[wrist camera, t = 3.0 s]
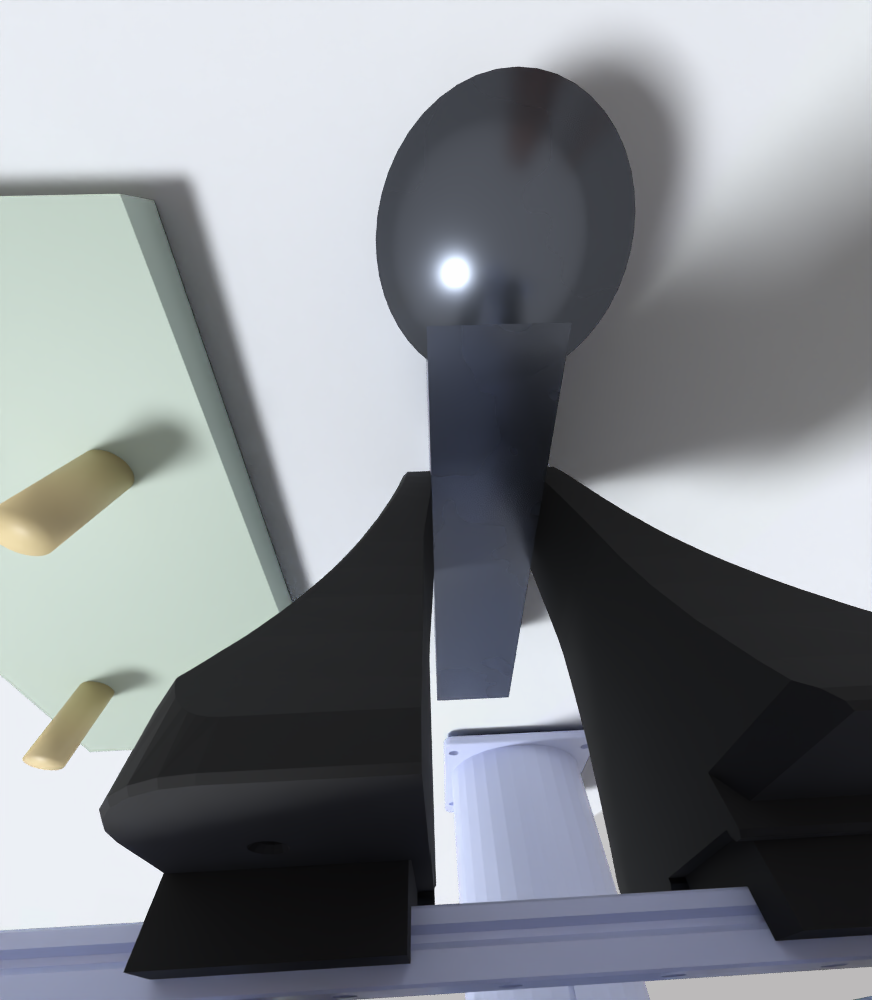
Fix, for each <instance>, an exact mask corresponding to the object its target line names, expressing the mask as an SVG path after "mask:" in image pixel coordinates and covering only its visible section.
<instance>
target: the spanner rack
mask: <svg viewBox="0 0 872 1000" xmlns="http://www.w3.org/2000/svg"><path fill="white" fill-rule="evenodd" d="M291 603H292V601H291V598H290V595H289V592H288V589H287V586H286V583H285V581H284V578H283V575H282V572H281V569H280V566H279V563H278V560H277V557H276V554H275V551H274V549H273V546H272V543H271V540H270V537H269V534H268V531H267V528H266V525H265V522H264V519H263V517H262V514H261V511H260V508H259V505H258V502H257V499H256V496H255V493H254V490H253V487H252V485H251V482H250V479H249V476H248V473H247V470H246V467H245V464H244V461H243V458H242V455H241V453H240V450H239V447H238V444H237V441H236V438H235V435H234V432H233V429H232V426H231V423H230V421H229V418H228V415H227V412H226V409H225V406H224V403H223V400H222V397H221V394H220V391H219V389H218V386H217V383H216V380H215V377H214V374H213V371H212V368H211V365H210V362H209V359H208V357H207V354H206V351H205V348H204V345H203V342H202V339H201V336H200V333H199V330H198V327H197V325H196V322H195V319H194V316H193V313H192V310H191V307H190V304H189V301H188V298H187V295H186V293H185V290H184V287H183V284H182V281H181V278H180V275H179V272H178V269H177V266H176V263H175V261H174V258H173V255H172V252H171V249H170V246H169V243H168V240H167V237H166V234H165V231H164V229H163V226H162V223H161V220H160V217H159V214H158V211H157V208H156V205H155V202H154V200H150V199H145V198H140V197H134V196H129V195H124V194H80V195H31V196H0V675H1V676H2V677H3V678H4V679H5V680H7V681H8V682H9V683H10V684H11V685H12V686H14V687H15V688H16V689H17V690H18V691H19V692H21V693H22V694H23V695H24V696H25V697H26V698H28V699H29V700H30V701H31V702H32V703H33V704H35V705H36V706H37V707H38V708H39V709H40V710H42V711H43V712H44V713H45V714H46V715H47V716H49V717H50V718H51V719H52V721H51V722H50V724H49V725H48V726H47V727H46V729H45V730H44V731H43V733H42V734H41V735H40V736H39V738H38V739H37V740H36V741H35V743H34V744H33V745H32V747H31V748H30V749H29V750H28V752H27V753H26V754H25V756H24V757H23V761H24V762H25V763H26V764H28V765H30V766H32V767H35V768H38V769H44V770H59V769H62V768H64V766H65V765H66V764H67V762H68V761H69V759H70V758H71V756H72V755H73V753H74V752H75V750H76V749H77V748H78V746H79V745H80V744H81V745H82V746H84V747H85V748H86V749H87V750H88V751H89V752H100V751H120V750H133V749H134V747H135V745H136V743H137V742H138V740H139V738H140V736H141V735H142V733H143V731H144V729H145V727H146V726H147V724H148V722H149V720H150V719H151V717H152V715H153V713H154V711H155V710H156V708H157V707H158V705H159V704H160V702H161V701H162V699H163V698H164V696H165V695H166V693H167V692H168V690H169V689H170V687H171V685H172V684H173V682H174V681H175V679H176V678H177V677H179V676H180V675H182V674H184V673H186V672H187V671H189V670H191V669H193V668H194V667H196V666H197V665H199V664H201V663H202V662H204V661H206V660H207V659H209V658H210V657H212V656H214V655H215V654H217V653H219V652H220V651H222V650H223V649H225V648H227V647H228V646H230V645H232V644H233V643H235V642H236V641H238V640H240V639H241V638H243V637H244V636H246V635H247V634H249V633H250V632H252V631H254V630H255V629H257V628H258V627H259V626H261V625H262V624H264V623H265V622H267V621H268V620H269V619H271V618H272V617H274V616H275V615H277V614H278V613H279V612H281V611H282V610H283V609H285V608H286V607H287V606H289V605H290V604H291Z"/></svg>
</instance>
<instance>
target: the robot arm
mask: <svg viewBox="0 0 872 1000" xmlns="http://www.w3.org/2000/svg"><path fill="white" fill-rule="evenodd" d="M530 568H531V571H532V573H533V576H534V578H535V581H536V583H537V586H538V589H539V591H540V594H541V596H542V599H543V601H544V604H545V606H546V609H547V611H548V614H549V616H550V619H551V622H552V624H553V627H554V629H555V632H556V634H557V637H558V640H559V643H560V646H561V648H562V651H563V654H564V658H565V661H566V665H567V669H568V672H569V676H570V679H571V683H572V687H573V690H574V694H575V698H576V702H577V705H578V709H579V713H580V717H581V721H582V725H583V729H584V730H572V731H552V732H532V733H512V734H492V735H472V736H453V737H448V738H447V739H445V740H444V777H445V810H446V811H448V812H454V821H455V838H456V854H457V870H458V886H459V903H460V904H443V905H435V896H434V888H435V886H436V869H435V837H434V804H433V770H432V736H431V701H430V665H429V654H430V631H431V615H432V599H433V583H434V548H433V516H432V485H431V473H430V471H422V472H407V473H406V474H405V475H404V476H403V478H402V480H401V482H400V484H399V486H398V488H397V490H396V491H395V493H394V495H393V496H392V498H391V500H390V501H389V503H388V504H387V506H386V507H385V508H384V510H383V511H382V513H381V514H380V516H379V517H378V519H377V520H376V521H375V522H374V524H373V525H372V526H371V527H370V529H369V530H368V531H367V532H366V534H365V535H364V536H363V537H362V539H361V540H360V541H359V542H358V543H357V544H356V545H355V547H354V548H353V549H352V550H351V551H350V552H349V553H348V554H347V555H346V556H345V557H344V558H343V559H342V560H341V561H340V562H339V563H338V564H337V565H336V566H335V567H334V568H333V569H332V570H331V571H330V572H329V573H328V574H326V575H325V576H324V577H323V578H322V579H321V580H320V581H319V582H317V583H316V584H315V585H314V586H313V587H311V588H310V589H309V590H308V591H307V592H306V593H304V594H303V595H302V596H301V597H299V598H298V599H297V600H295V601H294V602H293V603H291V604H290V605H289V606H287V607H286V608H285V609H283V610H282V611H281V612H279V613H278V614H277V615H275V616H274V617H272V618H271V619H269V620H268V621H267V622H265V623H264V624H262V625H261V626H259V627H258V628H257V629H255V630H254V631H252V632H250V633H249V634H247V635H246V636H244V637H243V638H241V639H240V640H238V641H236V642H235V643H233V644H232V645H230V646H228V647H227V648H225V649H223V650H222V651H220V652H219V653H217V654H215V655H214V656H212V657H210V658H209V659H207V660H206V661H204V662H202V663H201V664H199V665H197V666H196V667H194V668H193V669H191V670H189V671H187V672H186V673H184V674H182V675H180V676H179V677H177V678H176V679H175V681H174V682H173V684H172V685H171V687H170V689H169V690H168V692H167V693H166V695H165V696H164V698H163V699H162V701H161V702H160V704H159V705H158V707H157V708H156V710H155V711H154V713H153V715H152V717H151V719H150V720H149V722H148V724H147V726H146V727H145V729H144V731H143V733H142V735H141V736H140V738H139V740H138V742H137V743H136V745H135V747H134V749H133V750H132V752H131V754H130V756H129V758H128V759H127V761H126V763H125V765H124V766H123V768H122V770H121V772H120V773H119V775H118V777H117V779H116V781H115V782H114V784H113V786H112V788H111V789H110V791H109V793H108V795H107V796H106V798H105V800H104V802H103V803H102V805H101V807H100V809H99V811H100V815H101V819H102V823H103V826H104V829H105V832H106V833H108V834H109V835H110V836H111V837H112V838H113V839H114V840H115V841H116V842H118V843H119V844H121V845H122V846H124V847H125V848H127V849H128V850H130V851H131V852H133V853H134V854H136V855H137V856H139V857H140V858H142V859H143V860H145V861H147V862H148V863H150V864H151V865H153V866H154V867H156V868H157V869H159V870H160V871H162V872H163V873H164V874H163V877H162V879H161V881H160V884H159V886H158V889H157V891H156V894H155V896H154V899H153V901H152V903H151V906H150V908H149V911H148V913H147V916H146V918H145V920H144V922H138V923H121V924H104V925H87V926H70V927H53V928H36V929H19V930H2V931H0V1000H357V999H371V998H387V997H404V996H419V995H435V994H449V993H465V1000H650V998H649V995H648V992H647V988H646V985H645V982H644V981H654V980H670V979H686V978H702V977H717V976H733V975H747V974H748V975H749V974H763V973H764V974H765V973H781V972H794V971H795V972H796V971H811V970H827V969H842V968H858V967H872V612H871V611H867V610H864V609H860V608H857V607H854V606H850V605H847V604H844V603H841V602H838V601H835V600H832V599H829V598H826V597H823V596H820V595H817V594H814V593H811V592H808V591H804V590H801V589H798V588H796V587H793V586H790V585H787V584H784V583H782V582H779V581H776V580H773V579H770V578H768V577H765V576H762V575H760V574H757V573H755V572H752V571H750V570H747V569H745V568H742V567H739V566H737V565H734V564H732V563H729V562H727V561H724V560H722V559H720V558H717V557H715V556H713V555H710V554H708V553H706V552H703V551H701V550H699V549H697V548H695V547H693V546H691V545H688V544H686V543H684V542H682V541H680V540H678V539H676V538H673V537H671V536H669V535H667V534H665V533H664V532H662V531H660V530H658V529H656V528H654V527H652V526H650V525H648V524H647V523H645V522H643V521H641V520H640V519H638V518H636V517H634V516H632V515H631V514H629V513H627V512H625V511H624V510H622V509H620V508H619V507H617V506H615V505H614V504H612V503H611V502H609V501H607V500H606V499H604V498H603V497H601V496H599V495H598V494H596V493H595V492H593V491H592V490H590V489H589V488H587V487H585V486H584V485H582V484H581V483H579V482H578V481H576V480H575V479H573V478H572V477H570V476H568V475H567V474H565V473H564V472H562V471H560V470H558V469H556V468H554V467H547V472H546V478H545V482H544V488H543V494H542V500H541V506H540V512H539V518H538V524H537V530H536V537H535V543H534V549H533V555H532V561H531V567H530ZM589 756H590V758H591V762H592V766H593V770H594V775H595V779H596V783H597V787H598V792H599V796H600V801H601V806H602V810H603V815H604V820H605V824H606V829H607V834H608V838H609V842H610V848H611V853H612V858H613V863H614V868H615V873H616V878H617V883H618V887H619V890H620V893H621V894H617V891H616V888H615V885H614V881H613V878H612V875H611V872H610V868H609V865H608V862H607V859H606V855H605V852H604V849H603V846H602V842H601V839H600V836H599V833H598V829H597V826H596V823H595V820H594V816H593V813H592V810H591V807H590V803H589V800H588V797H587V794H586V790H585V787H584V784H583V781H582V777H581V773H582V771H583V769H584V766H585V764H586V762H587V760H588V758H589ZM855 1000H872V996H869V997H864V998H860V999H855Z"/></svg>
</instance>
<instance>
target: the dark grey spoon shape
mask: <svg viewBox="0 0 872 1000" xmlns="http://www.w3.org/2000/svg"><path fill="white" fill-rule="evenodd" d="M634 220H635V198H634V186H633V180H632V173H631V168H630V165H629V161H628V158H627V154H626V151H625V148H624V146H623V143H622V141H621V139H620V137H619V134H618V132H617V130H616V128H615V127H614V125H613V123H612V122H611V120H610V119H609V117H608V116H607V114H606V113H605V111H604V110H603V109H602V108H601V107H600V105H599V104H598V103H597V102H596V101H595V100H594V99H593V98H592V97H591V96H590V95H589V94H588V93H587V92H585V91H584V90H583V89H581V88H580V87H579V86H578V85H576V84H575V83H573V82H571V81H569V80H567V79H566V78H564V77H562V76H560V75H558V74H555V73H552V72H548V71H545V70H541V69H538V68H526V67H510V68H501V69H495V70H492V71H488V72H485V73H482V74H478V75H476V76H474V77H472V78H470V79H468V80H466V81H464V82H462V83H460V84H458V85H456V86H455V87H454V88H452V89H451V90H449V91H448V92H447V93H445V94H444V95H442V96H441V97H440V98H439V99H438V100H437V101H436V102H435V103H433V104H432V105H431V106H430V107H429V108H428V109H427V110H426V111H425V112H424V113H423V114H422V116H421V117H420V118H419V120H418V121H417V122H416V123H415V125H414V126H413V127H412V129H411V130H410V131H409V133H408V134H407V136H406V138H405V139H404V141H403V143H402V145H401V146H400V148H399V150H398V151H397V154H396V156H395V158H394V160H393V163H392V165H391V167H390V170H389V172H388V175H387V178H386V181H385V185H384V188H383V191H382V195H381V200H380V205H379V211H378V216H377V230H376V253H377V263H378V270H379V277H380V281H381V285H382V289H383V292H384V296H385V299H386V301H387V304H388V306H389V309H390V311H391V313H392V315H393V317H394V319H395V321H396V323H397V325H398V327H399V328H400V330H401V331H402V333H403V334H404V335H405V337H406V338H407V340H408V341H409V342H410V343H411V344H412V345H413V347H414V348H415V349H416V350H417V351H418V352H419V353H420V354H421V355H422V356H424V357H425V358H426V361H427V394H428V427H429V460H430V473H431V485H432V516H433V548H434V583H433V592H434V625H435V653H436V677H437V700H459V699H480V698H502V697H509V692H510V686H511V680H512V674H513V668H514V662H515V656H516V650H517V644H518V638H519V633H520V627H521V621H522V615H523V609H524V603H525V597H526V591H527V585H528V579H529V573H530V567H531V561H532V555H533V549H534V543H535V537H536V530H537V524H538V518H539V512H540V506H541V500H542V494H543V488H544V482H545V478H546V472H547V466H548V460H549V454H550V448H551V442H552V436H553V430H554V424H555V418H556V412H557V406H558V400H559V394H560V388H561V382H562V377H563V371H564V365H565V359H566V356H567V355H568V354H569V353H570V352H572V351H573V350H574V349H575V348H577V347H578V345H579V344H580V343H581V342H582V341H583V340H584V339H585V338H586V337H587V336H588V335H589V334H590V333H591V331H592V330H593V329H594V328H595V326H596V325H597V324H598V323H599V321H600V320H601V318H602V317H603V315H604V314H605V312H606V310H607V309H608V307H609V306H610V304H611V302H612V300H613V298H614V296H615V294H616V292H617V290H618V288H619V285H620V282H621V280H622V277H623V275H624V272H625V269H626V265H627V262H628V258H629V255H630V251H631V245H632V239H633V233H634Z"/></svg>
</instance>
